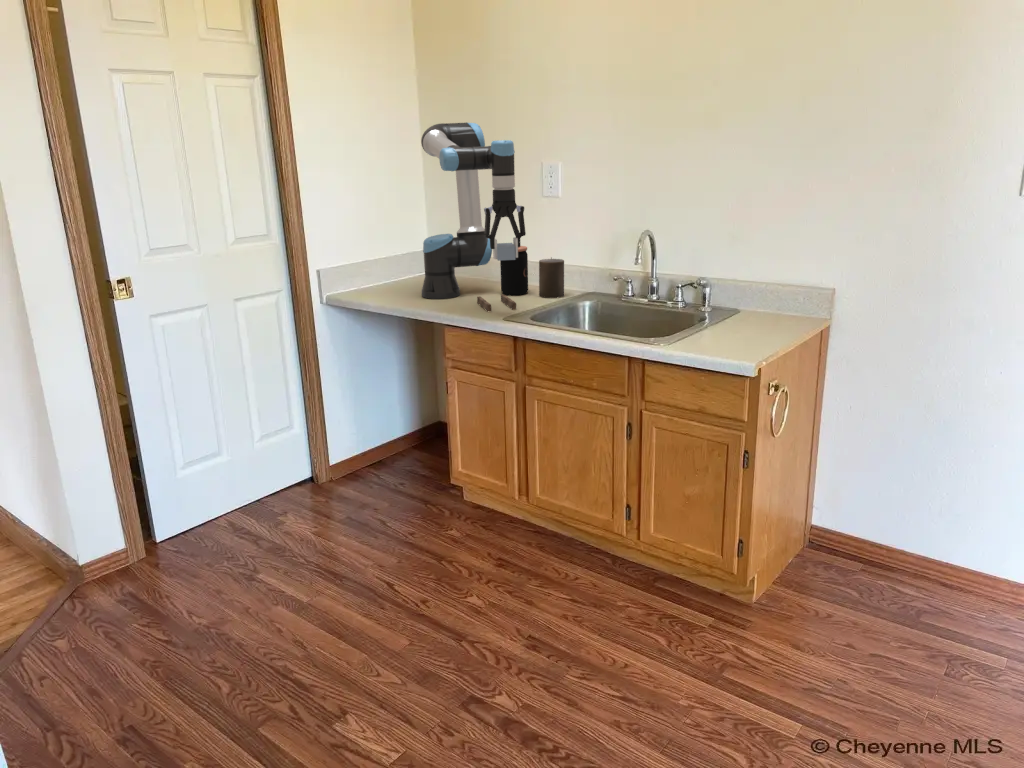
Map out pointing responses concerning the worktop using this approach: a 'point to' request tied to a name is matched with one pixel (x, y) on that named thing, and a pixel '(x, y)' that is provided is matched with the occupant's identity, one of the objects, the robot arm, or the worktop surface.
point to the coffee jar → (515, 274)
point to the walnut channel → (503, 299)
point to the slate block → (505, 251)
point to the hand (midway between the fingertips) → (505, 257)
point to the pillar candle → (551, 278)
